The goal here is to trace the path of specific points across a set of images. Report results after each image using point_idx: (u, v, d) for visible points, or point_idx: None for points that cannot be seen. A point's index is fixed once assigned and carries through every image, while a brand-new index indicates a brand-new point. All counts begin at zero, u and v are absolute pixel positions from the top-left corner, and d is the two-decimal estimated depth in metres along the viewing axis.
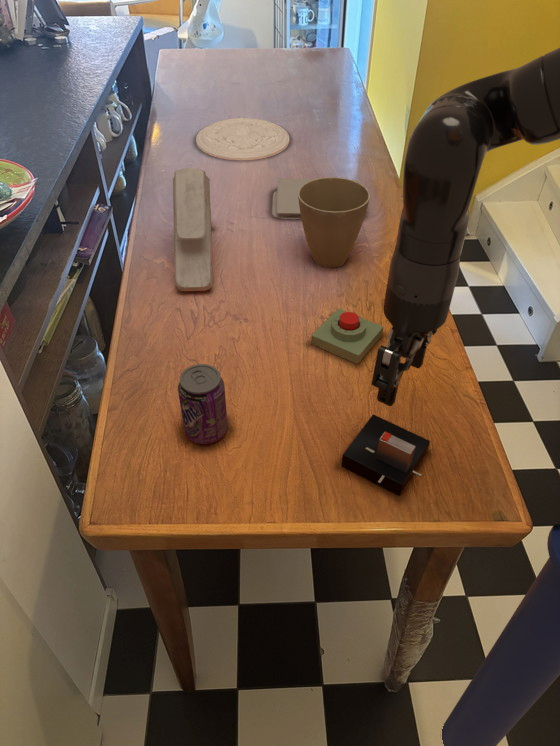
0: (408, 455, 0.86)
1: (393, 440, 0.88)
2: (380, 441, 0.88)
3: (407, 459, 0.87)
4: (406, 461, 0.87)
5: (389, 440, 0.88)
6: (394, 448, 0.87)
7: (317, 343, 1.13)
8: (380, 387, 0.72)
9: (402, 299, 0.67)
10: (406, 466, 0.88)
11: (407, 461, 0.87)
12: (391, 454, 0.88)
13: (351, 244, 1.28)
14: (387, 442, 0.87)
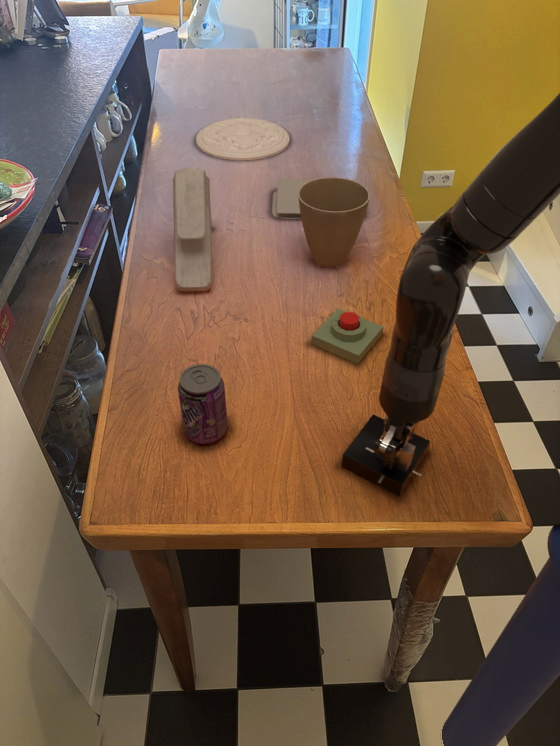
0: (408, 455, 0.86)
1: None
2: None
3: (407, 459, 0.87)
4: (406, 461, 0.87)
5: None
6: None
7: (317, 343, 1.13)
8: (385, 458, 0.85)
9: (395, 396, 0.77)
10: (406, 466, 0.88)
11: (407, 461, 0.87)
12: None
13: (351, 244, 1.28)
14: None
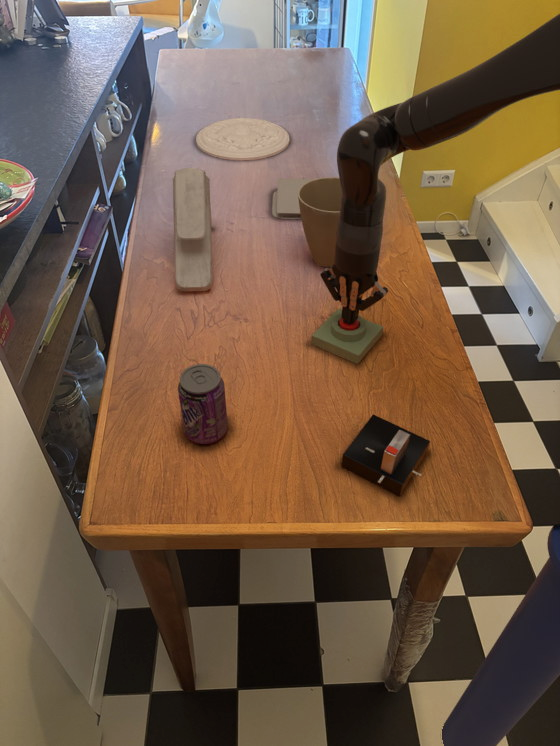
0: (409, 437, 0.89)
1: (395, 445, 0.87)
2: (395, 457, 0.86)
3: (408, 441, 0.89)
4: (407, 444, 0.90)
5: (395, 448, 0.87)
6: (402, 446, 0.87)
7: (317, 343, 1.13)
8: None
9: (376, 250, 0.99)
10: (406, 447, 0.91)
11: (407, 443, 0.90)
12: (400, 455, 0.88)
13: None
14: (398, 450, 0.86)
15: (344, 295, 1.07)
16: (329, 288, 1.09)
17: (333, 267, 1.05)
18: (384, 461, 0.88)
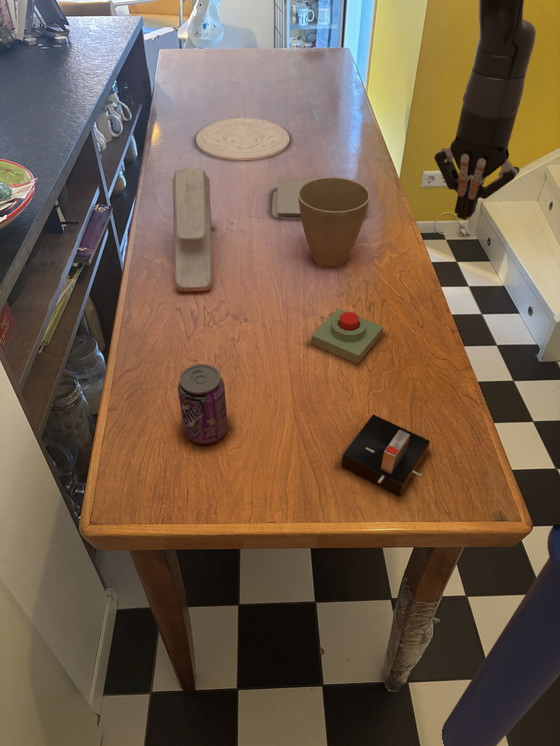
0: (409, 437, 0.89)
1: (395, 445, 0.87)
2: (395, 457, 0.86)
3: (408, 441, 0.89)
4: (407, 444, 0.90)
5: (395, 448, 0.87)
6: (402, 446, 0.87)
7: (317, 343, 1.13)
8: None
9: (514, 115, 0.82)
10: (406, 447, 0.91)
11: (407, 443, 0.90)
12: (400, 455, 0.88)
13: (351, 244, 1.28)
14: (398, 450, 0.86)
15: (464, 179, 0.91)
16: (444, 173, 0.92)
17: (453, 144, 0.89)
18: (384, 461, 0.88)
